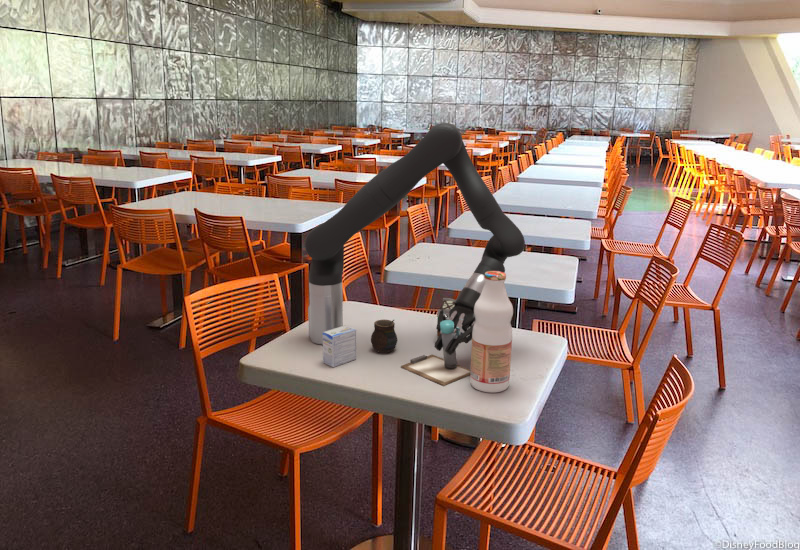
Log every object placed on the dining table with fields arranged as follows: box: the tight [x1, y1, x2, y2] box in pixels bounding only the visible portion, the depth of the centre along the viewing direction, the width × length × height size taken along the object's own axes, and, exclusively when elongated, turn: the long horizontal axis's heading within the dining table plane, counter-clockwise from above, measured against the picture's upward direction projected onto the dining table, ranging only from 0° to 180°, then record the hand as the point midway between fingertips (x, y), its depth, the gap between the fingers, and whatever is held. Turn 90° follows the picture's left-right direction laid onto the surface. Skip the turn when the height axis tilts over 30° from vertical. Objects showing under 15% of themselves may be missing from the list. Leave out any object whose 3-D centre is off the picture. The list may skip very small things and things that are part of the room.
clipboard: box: [400, 354, 471, 387], centre depth 162 cm, size 15×12×1 cm
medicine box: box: [322, 325, 357, 368], centre depth 166 cm, size 8×4×9 cm, turn 135°
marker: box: [440, 320, 458, 370], centre depth 160 cm, size 3×3×12 cm
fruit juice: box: [469, 271, 514, 394], centre depth 151 cm, size 9×9×28 cm
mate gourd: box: [370, 319, 398, 354], centre depth 174 cm, size 7×8×10 cm
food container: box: [436, 297, 456, 340], centre depth 184 cm, size 12×6×10 cm, turn 168°
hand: (442, 350), depth 159 cm, fingers closed on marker, 3 cm apart
